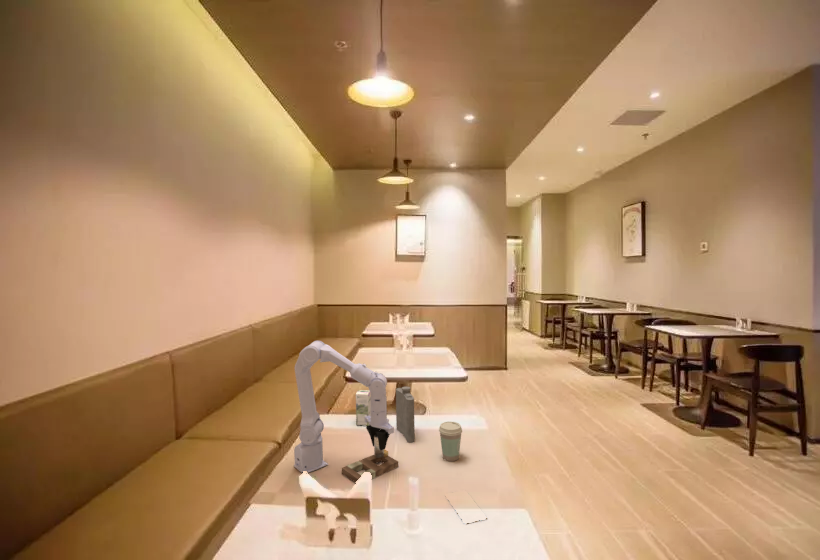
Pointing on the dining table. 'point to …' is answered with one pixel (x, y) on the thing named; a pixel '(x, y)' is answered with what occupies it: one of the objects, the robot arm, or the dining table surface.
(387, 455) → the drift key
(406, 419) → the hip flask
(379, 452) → the frosted round dowel plug
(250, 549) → the dining table surface
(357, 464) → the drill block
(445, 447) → the coffee cup
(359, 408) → the syrup box
